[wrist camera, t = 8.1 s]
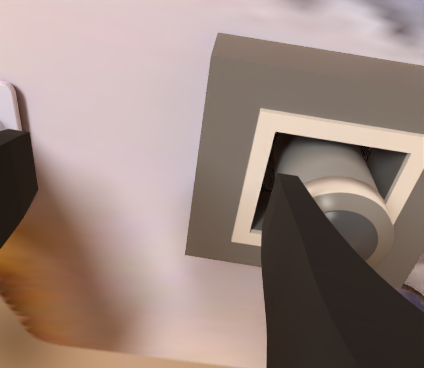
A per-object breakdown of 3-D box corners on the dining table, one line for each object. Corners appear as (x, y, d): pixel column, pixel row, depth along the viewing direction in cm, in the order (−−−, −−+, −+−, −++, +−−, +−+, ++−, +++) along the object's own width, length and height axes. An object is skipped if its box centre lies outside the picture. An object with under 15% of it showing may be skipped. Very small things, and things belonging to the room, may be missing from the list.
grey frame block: (193, 214, 24) (184, 258, 21) (217, 32, 18) (210, 58, 15) (382, 244, 24) (401, 293, 21) (474, 74, 18) (520, 108, 15)
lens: (266, 181, 22) (268, 275, 17) (279, 108, 20) (288, 190, 14) (344, 190, 22) (375, 287, 17) (368, 118, 20) (414, 205, 14)
